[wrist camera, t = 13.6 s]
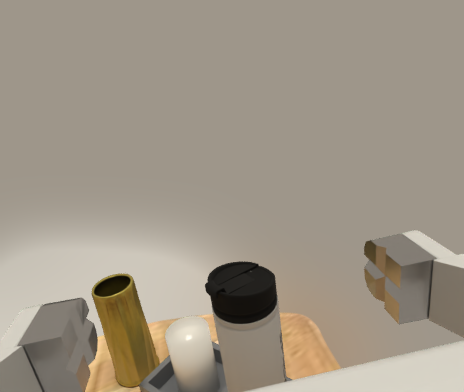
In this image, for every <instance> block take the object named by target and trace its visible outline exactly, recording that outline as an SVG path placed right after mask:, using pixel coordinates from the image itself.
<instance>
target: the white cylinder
mask: <svg viewBox="0 0 464 392" xmlns="http://www.w3.org/2000/svg"><path fill="white" fill-rule="evenodd" d="M165 339H166V343H167V347H168V350H169V354H170V358H171V362H172V366H173V370H174V374H175V378H176V382H177V385H178V389H179V392H218V390H219V387H220V381H219V376H218V371H217V366H216V361H215V356H214V351H213V346H212V341H211V336H210V331H209V326H208V323H207V321H206V320H205V319H203V318H201V317H198V316H187V317H183V318H181V319H178V320H176V321H175V322H173V323H172V324H171V325H170V326H169V327H168V329H167V331H166V333H165Z"/></svg>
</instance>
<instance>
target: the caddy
mask: <svg viewBox="0 0 464 392" xmlns="http://www.w3.org/2000/svg"><path fill="white" fill-rule="evenodd" d="M212 346H213V351H214V356H215V361H216V366H217V371H218V376H219V381H220V387H219V390H218V392H228V389H227V384H226V379H225V373H224V368H223V363H222V358H221V352H220V347H219V345H218V344H216V343H214V342H212ZM286 380H287V381H291V380H292V379H290V378H288V377H286ZM139 387H140V390H141V392H179V389H178V385H177V382H176V378H175V374H174V370H173V366H172V362H171V358H170V355H169V356H168V357H167V358H166V359H165V360H164V361H163V362H162V363H161V364H160V365H159V366H158V367H157V368H156V369H155V370H154V371H152V372H151V373H150V374H149V375H148V376H147V377H146V378H145V379H144V380H143V381H142V382H141V383H140V384H139Z"/></svg>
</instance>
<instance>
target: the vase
mask: <svg viewBox="0 0 464 392" xmlns="http://www.w3.org/2000/svg"><path fill="white" fill-rule="evenodd" d="M92 297H93V300H94V303H95V306H96V309H97V312H98V315H99V318H100V321H101V324H102V328H103V332H104V335H105V339H106V342H107V346H108V349H109V352H110V355H111V358H112V361H113V365H114V369H115V375H116V380H117V381H118V383H119V384H121V385H123V386H126V387H133V386H138V385H139V384H140V383H141V382H142V381H143V380H144V379H145V378H146V377H147V376H148V375H149V374H150V373H151V372H152V371H154V370H155V369H156V368H157V367H158V366H159V358H158V356H157V355H156V351H155V348H154V344H153V341H152V337H151V334H150V331H149V328H148V325H147V322H146V319H145V316H144V313H143V311H142V307H141V304H140V300H139V297H138V294H137V290H136V287H135V283H134V280H133V278H132V276H130V275H128V274H115V275H111V276H108V277H106V278H103V279H102V280H100V281H99V282H98V283H96V284H95V285H94V287H93V289H92Z"/></svg>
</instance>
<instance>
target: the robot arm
mask: <svg viewBox="0 0 464 392" xmlns="http://www.w3.org/2000/svg"><path fill="white" fill-rule="evenodd" d="M364 255H365V256H366V257H367V258H368V259H369V261H368V263H367V264H366V266H365V269H364V270H365V280H366V283H367V287H368V288H369V290H370V292H371V293H372V294H373V296H374V297H375V298H376V299H378V300H381V301H383V302H385V309H386V311H387V312H388V313H389V314H390V315H391V316H392V317H393V318H394V320H395V321H396V322H397V323H398V324H403V323H408V322H413V321H419V320H423V319H429V320H430V321H432V322H434V323H436V324H438V325H440V326H442V327H444V328H446V329H448V330H450V331H452V332H454V333H456V334H458V335H460V336H462V337H464V254H460V255H456V254H454V253H453V252H451V251H449V250H448V249H446V248H445V247H443V246H442V245H440V244H439V243H437V242H435V241H434V240H432V239H431V238H429V237H428V236H426V235H424V234H423V233H421V232H419V231H414V230H413V231H409V232H406V233H401V234H397V235H393V236H388V237H384V238H379V239H375V240H370V241H367V242H366V243H365V247H364ZM88 312H89V309H88V306H87V303H86V301H85V300H84V299H83V298H77V299H71V300H65V301H60V302H54V303H48V304H44V305H43V304H42V305H37V306H32V307H28V308H25V309H22V310H21V311H20V313H19V314H18V316H17V317H16V319H15V320H14V321H13V323H12V324H11V326H10V327H9V329H8V330H7V332H6V333H5V334H4V336H3V338H2V339H1V340H0V392H85V389H86V386H87V383H88V379H89V376H90V370H89V367H88V365H89V364H90V363H91V362H92V361H93V360H94V359H95V356H96V352H97V340H98V339H97V333H96V329H95V326H94V323H92V322H91V321H89V320H88V319H86V317H87V314H88ZM244 392H464V340H463V341H459V342H455V343H450V344H447V345H442V346H438V347H434V348H429V349H425V350H420V351H416V352H412V353H407V354H403V355H399V356H395V357H390V358H386V359H382V360H377V361H373V362H369V363H365V364H360V365H356V366H351V367H347V368H343V369H338V370H334V371H330V372H326V373H321V374H317V375H313V376H308V377H304V378H300V379H296V380H291V381H287V382H283V383H278V384H274V385H270V386H266V387H261V388H257V389H253V390H248V391H244Z"/></svg>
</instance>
